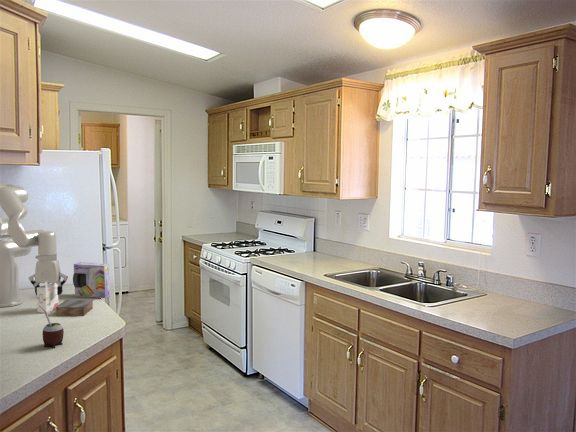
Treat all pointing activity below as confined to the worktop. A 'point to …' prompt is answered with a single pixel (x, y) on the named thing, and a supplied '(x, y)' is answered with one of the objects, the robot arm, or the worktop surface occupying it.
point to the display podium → (74, 307)
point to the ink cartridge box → (47, 297)
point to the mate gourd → (52, 333)
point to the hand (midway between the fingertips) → (48, 294)
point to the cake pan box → (91, 280)
